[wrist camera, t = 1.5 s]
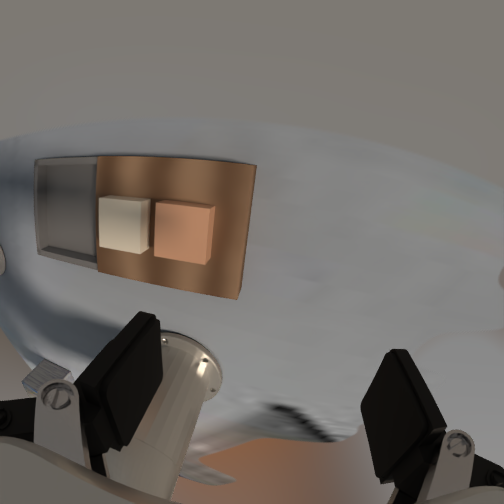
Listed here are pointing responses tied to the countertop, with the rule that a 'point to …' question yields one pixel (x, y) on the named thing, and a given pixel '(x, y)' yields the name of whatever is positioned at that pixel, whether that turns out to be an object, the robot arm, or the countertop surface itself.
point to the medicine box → (44, 377)
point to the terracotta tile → (183, 231)
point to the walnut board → (184, 190)
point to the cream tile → (124, 223)
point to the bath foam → (2, 261)
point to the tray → (66, 209)
